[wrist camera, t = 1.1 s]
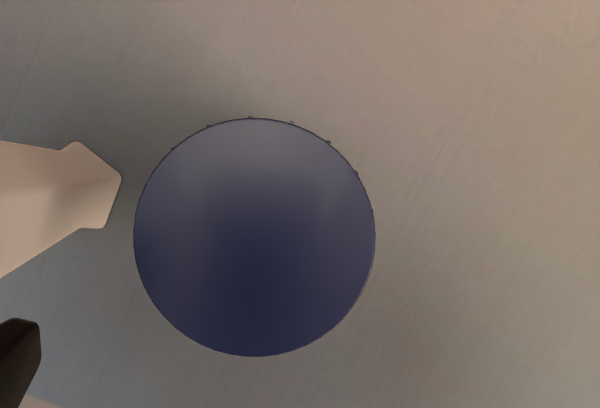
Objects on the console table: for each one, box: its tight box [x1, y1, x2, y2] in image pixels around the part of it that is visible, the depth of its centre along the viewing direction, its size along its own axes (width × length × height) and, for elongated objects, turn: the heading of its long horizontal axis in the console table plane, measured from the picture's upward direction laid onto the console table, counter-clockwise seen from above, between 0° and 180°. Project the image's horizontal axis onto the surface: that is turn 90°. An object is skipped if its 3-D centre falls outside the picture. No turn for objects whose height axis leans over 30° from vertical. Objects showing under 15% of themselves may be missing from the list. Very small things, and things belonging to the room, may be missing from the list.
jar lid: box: [133, 116, 375, 357], centre depth 16 cm, size 7×7×2 cm
